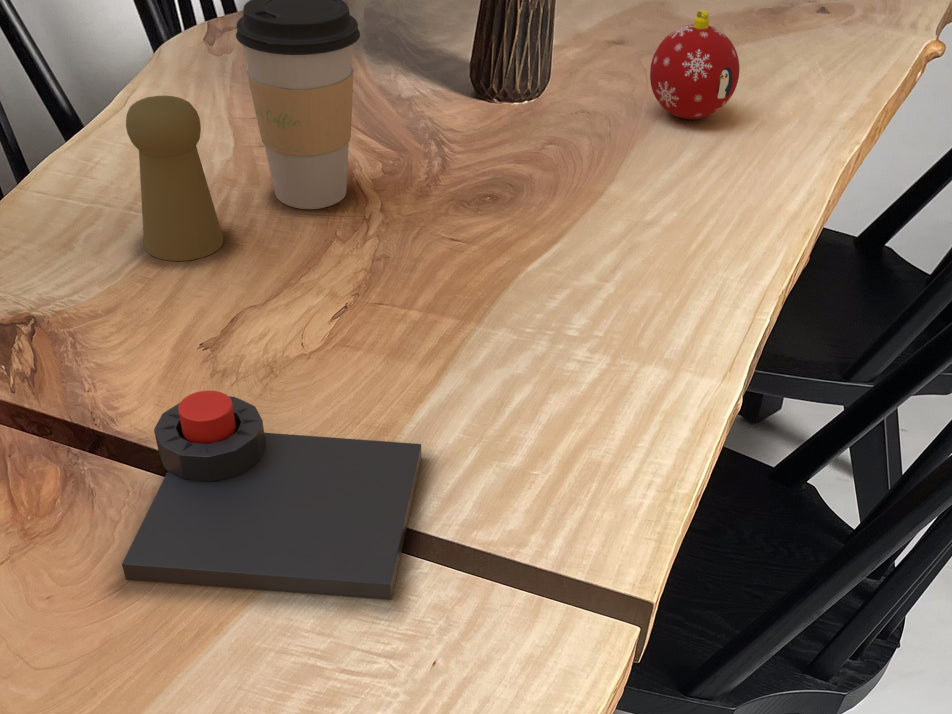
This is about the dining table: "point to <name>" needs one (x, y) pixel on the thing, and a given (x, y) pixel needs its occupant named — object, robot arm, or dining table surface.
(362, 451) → the dark grey button base
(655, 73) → the christmas ornament
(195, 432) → the scale button
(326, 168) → the coffee cup
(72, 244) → the dining table surface
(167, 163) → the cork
